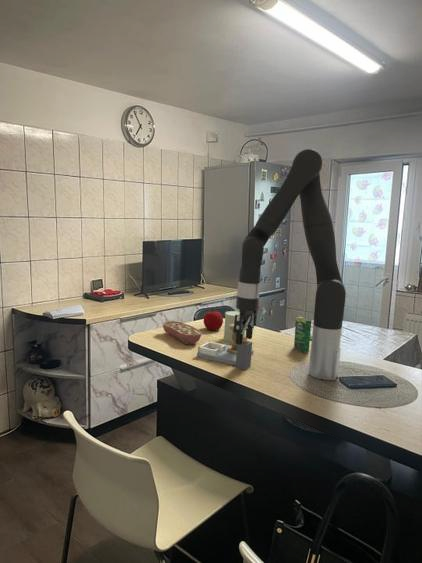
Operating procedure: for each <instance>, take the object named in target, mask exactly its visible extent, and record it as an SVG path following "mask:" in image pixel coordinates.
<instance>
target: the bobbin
mask: <svg viewBox="0 0 422 563" xmlns="http://www.w3.org/2000/svg"><path fill="white" fill-rule="evenodd" d="M236 328H237V327H236ZM229 329H231V330H233V329H234V324H231V325H229ZM244 331H245V332H246V329H245V330H244ZM227 351H228V352H230V353H234V354H236V352H237V344H236V333H235V332H233V331H232V343H231V346H230V347H228V348H227Z"/></svg>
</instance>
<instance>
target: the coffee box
mask: <svg viewBox="0 0 422 563" xmlns="http://www.w3.org/2000/svg"><path fill="white" fill-rule="evenodd" d="M294 329H295V330H294V343H293V348H294V349H297V351H300V352H301V353H303V354H308V353H309V352H310V344H311V331H312V330H311V329H312V320H310V319H308V318H305V317H304V316H303V317H302V316H296V317H295V327H294Z"/></svg>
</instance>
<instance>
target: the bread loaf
mask: <svg viewBox="0 0 422 563" xmlns="http://www.w3.org/2000/svg"><path fill="white" fill-rule="evenodd" d="M162 327H163V328H162V329H163V331H164V332H165V333H166V334H167V335H170V336H172V337H174V338H177V339H178V340H180V341H181V342H182V343H183V344H186V345H194V344H196V343H198V341H199V340H200V339H201V336H202V331H201V330H199V329H198V328H197V327H194V326H193V325H189V324H187V323H183V322H181V321H172V320H171V321H163V323H162Z"/></svg>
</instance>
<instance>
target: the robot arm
mask: <svg viewBox="0 0 422 563" xmlns="http://www.w3.org/2000/svg"><path fill="white" fill-rule="evenodd" d="M322 168H323V159H322V155H321V154H320V153H319V152H318V151H317V150H315V149H312V148H306V149H303V150H301V151H300V152H298V153H296V155H295V156H294V158H293V160H292V163H291V167H290V169H289V172H288V174H287V176H286V178H285V180H284V181H283V183H282V184H281V186H280V188H279V189H278V190H277V192H276V193H275V195H274V196H273V198H272V199H271V200H270V201H269V203H268V204H267V206H266V207H265V208H264V210H263V212H262V213H261V214H260V216H259V218H258V220H257V221H256V223H255V225H254V227H252V229H251V230H250V231H249V233H248V234H247V235H246V236H245V238H244V240H243V242H242V243H241V267H240V269H239V278H238V285H237V289H236V290H237V292H236V305H235V306H236V307H235V308H236V309H237V310H239V312H240V314H239V315H235V321H234V329H233V332H235V333H236V344H239V345H241V344H242V342H243V332H244V330H245V329H246V330H245V337H247V340H252V339H253V331H254V330H253V329H254V328H255V327H256V326H257V318H258V317H257V316H258V315H257V314H258V310H259V301H260V290H261V286H260V285H261V284H260V283H261V282H260V281H261V273H262V272H261V268H262V264H263V263H262V262H263V258H264V250H265V248H264V247H265V246H266V244H267V242H268V241H269V239H270V238H271V237H272V236H273V235H274V234H275V233H276V232H277V230H278V229H279V227H280V226H281V225H282V222H284V220H285V219H286V216H287V215H288V214H289V211H290V210H291V208H292V207H293V205H294V203H295V201H296V200H297V198H298V197H299V200H300V208H301V219H302V223H303V224H302V225H303V226H302V227H303V231H304V237H305V241H306V244H307V247H308V248H307V249H308V250H309V254H310V256H311V258H312V261H313V264H314V269H315V276H316V278H315V280H316V292H315V299H314V300H315V301H314V312H313V325H312V333H311V334H312V336H311V342H310V344H311V346H310V353H309V354H310V355H309V363H308V364H309V366H308V375H309V376H311V377H312V378H315V379H317V380H321V379H323V381H333V380H335V381H336V380H337V378H338V375H339V368H340V359H341V358H340V357H341V348H340V346H341V338H342V328H343V321H344V314H345V304H346V295H347V294H346V287H345V285H344V281H343V280H342V277H341V276H342V275H341V274H340V270H339V265H338V262H337V246H336V235H335V230H334V225H333V219H332V216H331V213H330V211H329V207H328V205H327V203H326V201H325V197H324V196H323V190H322V185H321V174H320V173H321V170H322ZM236 327H237V328H236ZM336 377H337V378H336Z"/></svg>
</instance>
